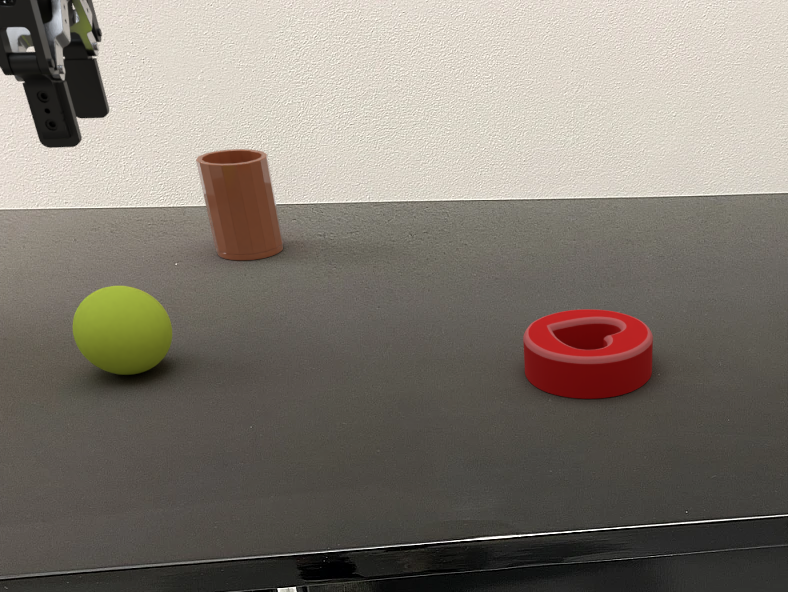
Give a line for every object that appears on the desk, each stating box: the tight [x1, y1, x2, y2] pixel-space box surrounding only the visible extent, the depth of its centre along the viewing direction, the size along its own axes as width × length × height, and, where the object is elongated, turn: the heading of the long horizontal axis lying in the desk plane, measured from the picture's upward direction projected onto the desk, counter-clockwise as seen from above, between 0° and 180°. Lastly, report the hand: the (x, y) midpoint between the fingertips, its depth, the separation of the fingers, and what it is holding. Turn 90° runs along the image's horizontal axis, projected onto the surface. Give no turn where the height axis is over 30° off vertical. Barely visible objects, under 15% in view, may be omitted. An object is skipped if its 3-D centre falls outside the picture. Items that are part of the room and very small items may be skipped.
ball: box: [72, 285, 173, 376], centre depth 70 cm, size 6×6×6 cm
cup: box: [195, 148, 284, 261], centre depth 93 cm, size 6×6×9 cm
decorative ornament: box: [522, 308, 654, 400], centre depth 72 cm, size 10×10×3 cm
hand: (78, 130), depth 63 cm, fingers open, 8 cm apart
